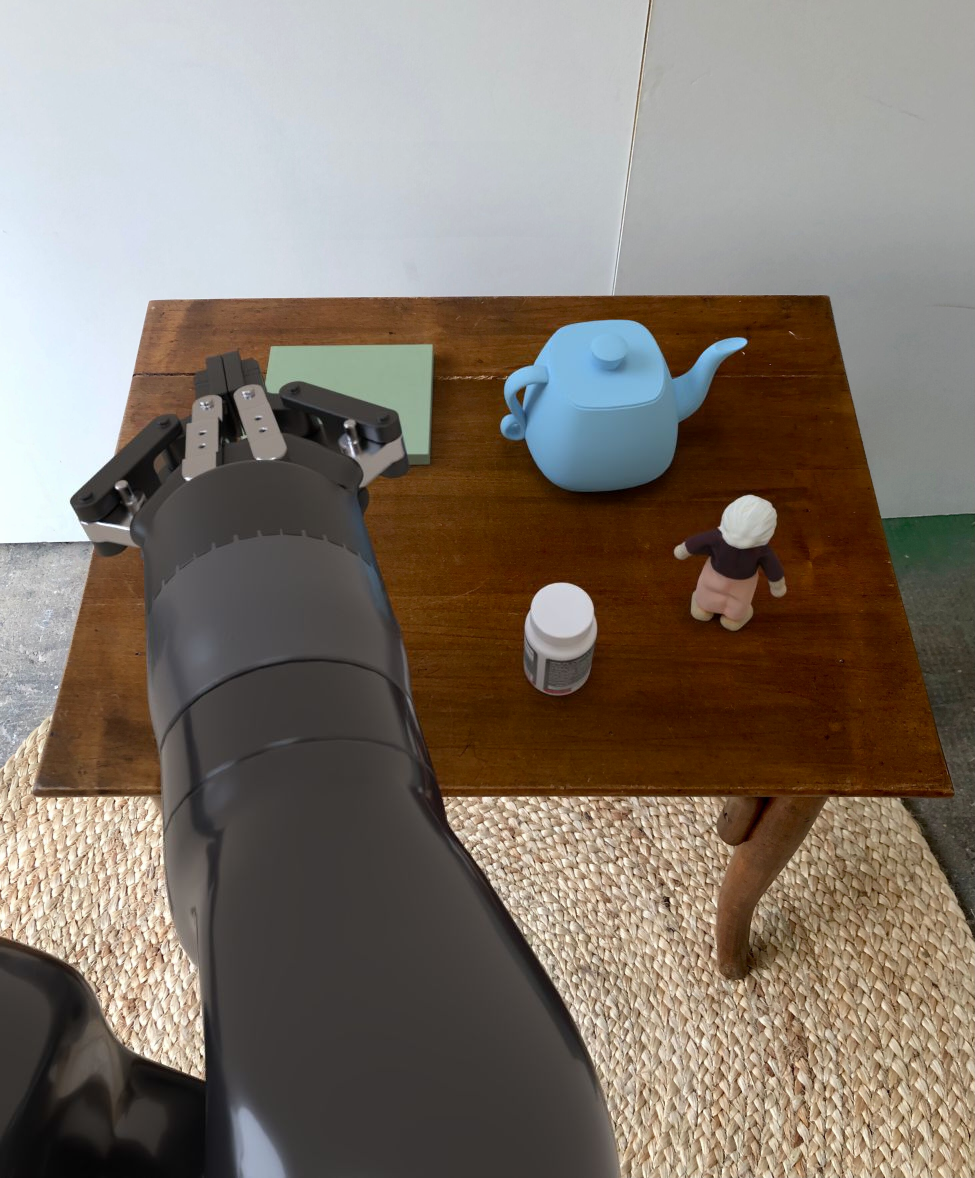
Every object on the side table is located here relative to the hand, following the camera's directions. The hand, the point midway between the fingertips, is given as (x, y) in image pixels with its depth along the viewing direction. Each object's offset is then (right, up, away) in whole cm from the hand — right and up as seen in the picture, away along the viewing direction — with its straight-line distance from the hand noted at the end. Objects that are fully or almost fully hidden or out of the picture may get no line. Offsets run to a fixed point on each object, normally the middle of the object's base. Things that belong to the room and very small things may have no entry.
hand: (228, 372), depth 40 cm
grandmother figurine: (+28, -11, +26) cm, 40 cm away
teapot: (+22, +2, +34) cm, 40 cm away
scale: (0, +5, +36) cm, 36 cm away
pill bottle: (+16, -15, +24) cm, 33 cm away
